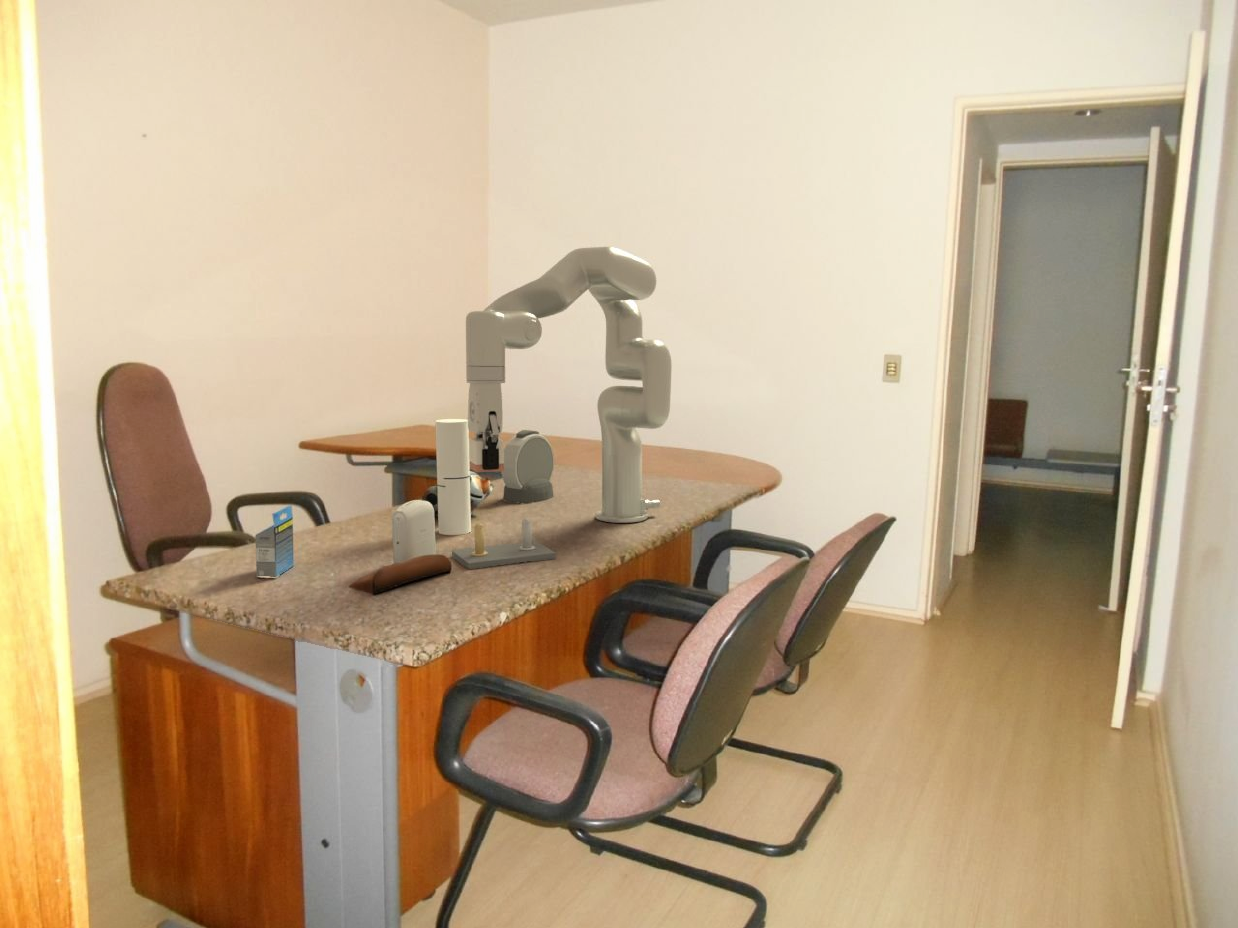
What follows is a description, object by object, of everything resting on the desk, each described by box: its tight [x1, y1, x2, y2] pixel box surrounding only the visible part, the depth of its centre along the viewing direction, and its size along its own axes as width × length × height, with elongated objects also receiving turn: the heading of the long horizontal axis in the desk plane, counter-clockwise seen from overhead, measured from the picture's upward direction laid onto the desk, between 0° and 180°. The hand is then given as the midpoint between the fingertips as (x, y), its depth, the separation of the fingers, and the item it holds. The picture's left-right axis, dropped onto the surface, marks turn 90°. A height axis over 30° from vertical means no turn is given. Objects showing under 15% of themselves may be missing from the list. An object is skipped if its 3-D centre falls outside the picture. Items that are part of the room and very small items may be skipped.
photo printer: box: [391, 499, 437, 564], centre depth 179 cm, size 10×4×12 cm, turn 158°
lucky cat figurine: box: [421, 470, 494, 516], centre depth 223 cm, size 15×12×14 cm
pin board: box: [451, 517, 557, 570], centre depth 184 cm, size 18×11×8 cm, turn 117°
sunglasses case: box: [348, 554, 452, 595], centre depth 168 cm, size 18×7×7 cm, turn 144°
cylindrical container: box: [434, 418, 472, 536], centre depth 205 cm, size 7×7×25 cm
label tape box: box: [254, 504, 295, 577], centre depth 173 cm, size 9×4×12 cm, turn 178°
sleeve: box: [469, 437, 505, 473], centre depth 182 cm, size 6×6×6 cm
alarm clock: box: [500, 429, 555, 504], centre depth 244 cm, size 16×10×18 cm, turn 144°
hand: (486, 466), depth 183 cm, fingers closed on sleeve, 5 cm apart
